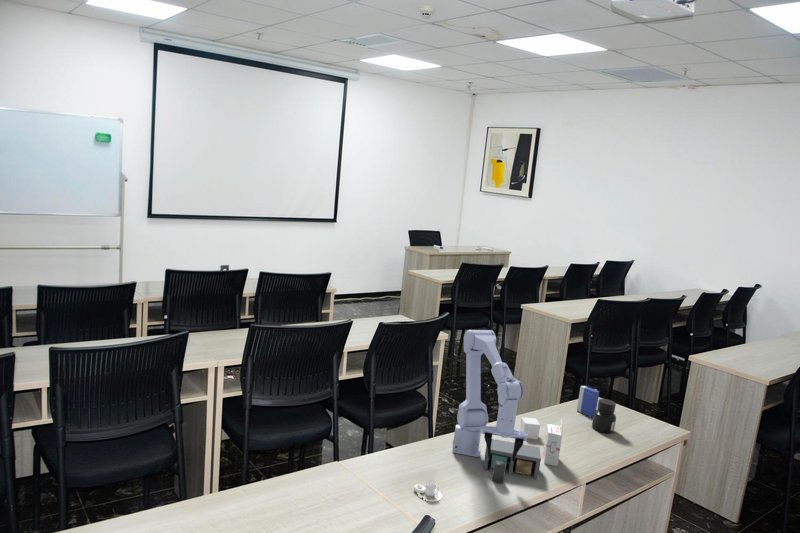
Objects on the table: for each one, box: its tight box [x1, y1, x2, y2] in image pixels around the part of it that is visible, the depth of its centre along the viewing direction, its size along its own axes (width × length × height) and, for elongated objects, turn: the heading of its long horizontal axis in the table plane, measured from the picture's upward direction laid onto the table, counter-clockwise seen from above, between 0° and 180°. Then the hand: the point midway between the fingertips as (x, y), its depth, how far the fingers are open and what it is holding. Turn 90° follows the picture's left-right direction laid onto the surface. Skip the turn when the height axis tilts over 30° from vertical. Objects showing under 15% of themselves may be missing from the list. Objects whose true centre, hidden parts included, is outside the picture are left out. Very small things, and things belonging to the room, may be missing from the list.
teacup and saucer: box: [413, 480, 443, 503], centre depth 177 cm, size 9×8×4 cm
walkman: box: [576, 385, 600, 418], centre depth 258 cm, size 8×3×12 cm, turn 39°
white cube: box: [518, 416, 541, 440], centre depth 229 cm, size 6×6×6 cm
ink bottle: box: [591, 398, 617, 434], centre depth 242 cm, size 10×9×12 cm
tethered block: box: [490, 453, 508, 485], centre depth 195 cm, size 5×16×6 cm, turn 169°
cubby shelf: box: [483, 438, 542, 480], centre depth 199 cm, size 18×9×7 cm, turn 79°
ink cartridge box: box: [542, 418, 564, 467], centre depth 208 cm, size 9×5×15 cm, turn 168°
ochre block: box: [514, 458, 533, 475], centre depth 199 cm, size 5×5×4 cm
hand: (500, 457), depth 189 cm, fingers open, 7 cm apart
